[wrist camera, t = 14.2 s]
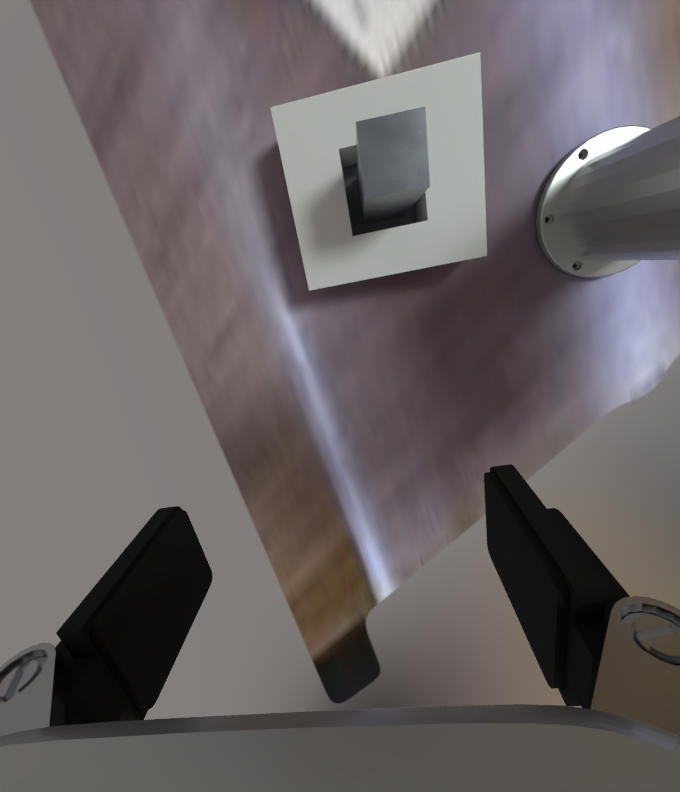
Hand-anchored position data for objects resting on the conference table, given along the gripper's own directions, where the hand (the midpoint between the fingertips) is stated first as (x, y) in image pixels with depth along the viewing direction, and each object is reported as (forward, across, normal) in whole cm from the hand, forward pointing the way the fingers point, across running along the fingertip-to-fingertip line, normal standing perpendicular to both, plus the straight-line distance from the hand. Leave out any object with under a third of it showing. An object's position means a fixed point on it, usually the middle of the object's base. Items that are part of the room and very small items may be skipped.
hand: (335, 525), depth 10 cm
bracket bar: (+30, -5, -13) cm, 33 cm away
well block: (+30, -5, -13) cm, 33 cm away
